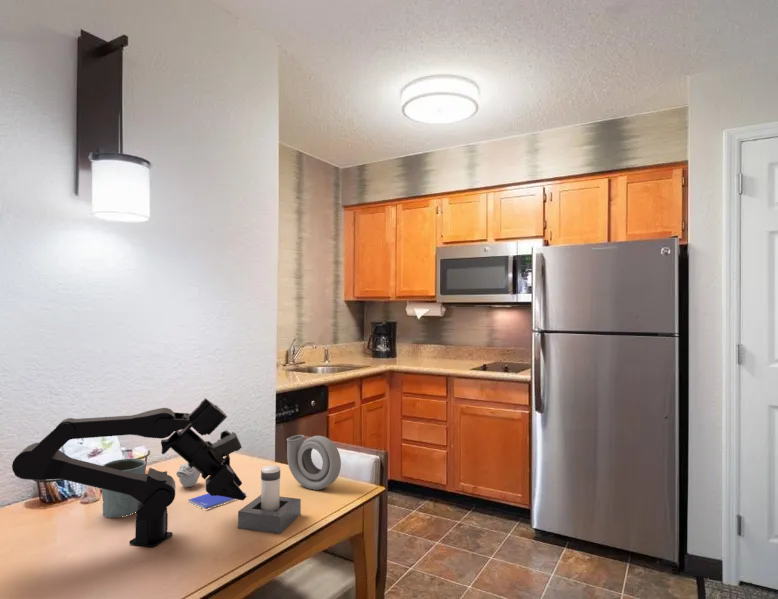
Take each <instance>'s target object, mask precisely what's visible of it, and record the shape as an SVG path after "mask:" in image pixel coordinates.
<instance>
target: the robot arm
mask: <svg viewBox="0 0 778 599" xmlns="http://www.w3.org/2000/svg"><path fill="white" fill-rule="evenodd" d="M227 418H228V415H227V414H226V412H224V411H223V410H222V409H221V408H220V407H219V406H218V405H217V404H214V403H213V402H211V401H210V400H209V399H208V398H204V399H203V400H202V401H201V402H200V404H199V405H198V406H197V407H196V408H194V409H193V410H192V412H191V413H188V412H174V411H173V410H172V409H171V408H169V407H160V408H156V409H151V410H150V409H149V410H146V411H143V412H141V413H137V414H132V415H119V416H118V415H117V416H103V417H88V418H87V417H86V418H83V417H82V418H72V417H70V418H69V417H68V418H64V419H63V420H61V422H60V423H58V425H56V427H55V428H54V429H53V430H52V431H51V432H50V433H48V434H47V435H46V436H45V437H44V438H43V439H42V440H41V441H39V442H35V443H32V444H29V445H27V447H25V448H24V449H23V450H22V451H21V452H19V454H17V455H16V456H15V458H14V460H13V461H12V464H11V467H12V472H13V473H14V476H15V477H17V478H18V479H21V480H29V481H51V480H63V481H68V482H71V483H76V484H79V485H85V486H88V487H94V488H97V489H101V490H102V489H105V490H109V491H114V492H118V493H122V494H127V495H130V496H131V497H133V498H134V499H136V500H137V501H138V506H137V510H136V513H135V514H136V515H135V531H134V532H135V533H134V535H135V536H134V537H133V538H132V539H131V540H129V543H128V544H130V545H136V546H141V547H146V548H147V547H148V548H154V547H157V545H160V544H161V543H163V542H164V541H165V540H167V539H168V538H170V537H172V536H173V534H174V533H173V532H172V531H168V526H169V524H168V521H169V520H168V519H169V516H168V507H169V506H170V505H171V504H172V503H173V502H174V501H175V498H176V481H175V480H174V479H175V478H173V476H171V475H169V474H168V471H167V470H166V471H161V470H157V469H155V468H152V467H149V468H148V472H147V473H144V474H133V473H129V472H125V471H121V470H117V469H113V468H109V467H105V466H102V465H101V464H96V463H93V462H89V461H88V462H87V461H86V460H85V461H84V460H81V459H76V458H72V457H71V456H69V455H67V454H66V453H64V452H63V451H61V450H60V449H61V448H62V447H63V446H64V445H66V443H67V442H69V441H71V440H77V439H78V440H79V439H91V438H92V439H93V438H103V437H117V436H138V437H143V438H151V439H161V440H160V445H161V454H162V455H165V454H166V453H167V452H168V451H169V450H170V449H171V450H172V451H174V452H175V453H176V454H177V455H178V456H180V458H182V459H183V460H185V462H186V463H188V466H189V467H191V468H192V467H194V468H195V469H196V470H197V471H199V472H200V476H201V477H202V479H203V480H205V492H206V493H207V494H208V493H209V494H210V495H211V496H217V495H218V496H224V497H229V498H233V499H238V500H239V501H244V500H246V498H247V494H246V495H245V494H244V493H245V492H244V491H243V490H242V489H241V488H240V487H241V486H242V485H243V482H242V480H241V479H240V478H239V476H238V475H237V473H236V472H235V470H234V469H233V468H232V466H231V457H230V455H231V454H233V453H234V452H238V451H239V450H240V449H242V448H243V447H242V446H243V445H242V444H241V442H240V440H239V438H238V436H237V434H236V432H234V431H232V432H229V431H228V430H226V429H225V430H223V431H221V432H220V437H219V439H217V441H215V442H213V443H212V442H211V441H210V440H204V439H203V438H202V437H201V436H206V435H209V436H211V434H212V433H213V432H214V431H215V430H216V429H217V428H218V427H219V426H220V425H222V423H223V422H224V421H225V420H226V419H227ZM192 428H193V429H194V430H195V431H196V432H195V431H194V430H193V429H192ZM198 434H199V435H198ZM243 492H244V493H243ZM238 500H237V501H238Z"/></svg>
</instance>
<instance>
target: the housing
mask: <svg viewBox="0 0 778 599" xmlns="http://www.w3.org/2000/svg"><path fill="white" fill-rule="evenodd" d="M301 502H302V499H301V498H298V497H297V498H295V497H287V496H286V497H285V496H280V509H279V510H278V511H277V512H274V511H266V510H261V494H260V495H259V496H257V497H256V498H255V499H253V500H251V501H250V502H249V503H247V504H246V505H245V506H244V507H242V508H240V509H239V510H238V511H237V520H238V521H237V528H238V529H242V530H249V531H257V532H261V533H262V532H263V533H271V534H276V535H277V534H278V535H281V533H283V532H284V531H285V530H286V529H287V528H288V527H290V525H292V523H293V522H295V521H296V520H297V519H298V518H299V517H300V516H301V515H302V514H301V512H302V511H301V509H302V508H301V507H302V504H301ZM298 516H299V517H298ZM297 517H298V518H297ZM296 518H297V519H296ZM295 519H296V520H295ZM294 520H295V521H294Z"/></svg>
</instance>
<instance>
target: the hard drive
mask: <svg viewBox="0 0 778 599" xmlns="http://www.w3.org/2000/svg"><path fill="white" fill-rule="evenodd" d="M242 492H243V493H244V494H245V495H246V496H247V494H246V493H245V492H244V491H242ZM233 500H235V499H233V498H229V497H224V496H218V495H217V496H211V495H210V494H209V493H208V492H207V493H205V494H202V495H198V496H196V497H193V498H190V499H188V504H189V503H191V504H190V505H192V504H193V505H192V506H194V505H196V506H199V507H201V508H204V509H208V508H212V507H214V506H218V505H221V504H224V503H227V502H229V503H231V502H230V501H232V502H234V501H233ZM235 501H236V500H235ZM227 504H228V503H227ZM224 505H225V504H224ZM196 506H195V507H196ZM221 506H222V505H221ZM218 507H219V506H218Z"/></svg>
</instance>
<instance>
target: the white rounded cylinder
mask: <svg viewBox="0 0 778 599" xmlns="http://www.w3.org/2000/svg"><path fill="white" fill-rule="evenodd" d="M280 479H281V466H279V465H274V464H273V465H272V464H271V465H265V466H263V467H261V470H260V480H261V482H260V483H261V485H260V486H261V487H260V488H261V489H260V493H261V494H260V495H261V510H266V511H274V512H277V511H278V510H279V509H280V497H281V494H280V490H281V489H280V488H281V485H280V484H281V483H280V482H281V480H280Z"/></svg>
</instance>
